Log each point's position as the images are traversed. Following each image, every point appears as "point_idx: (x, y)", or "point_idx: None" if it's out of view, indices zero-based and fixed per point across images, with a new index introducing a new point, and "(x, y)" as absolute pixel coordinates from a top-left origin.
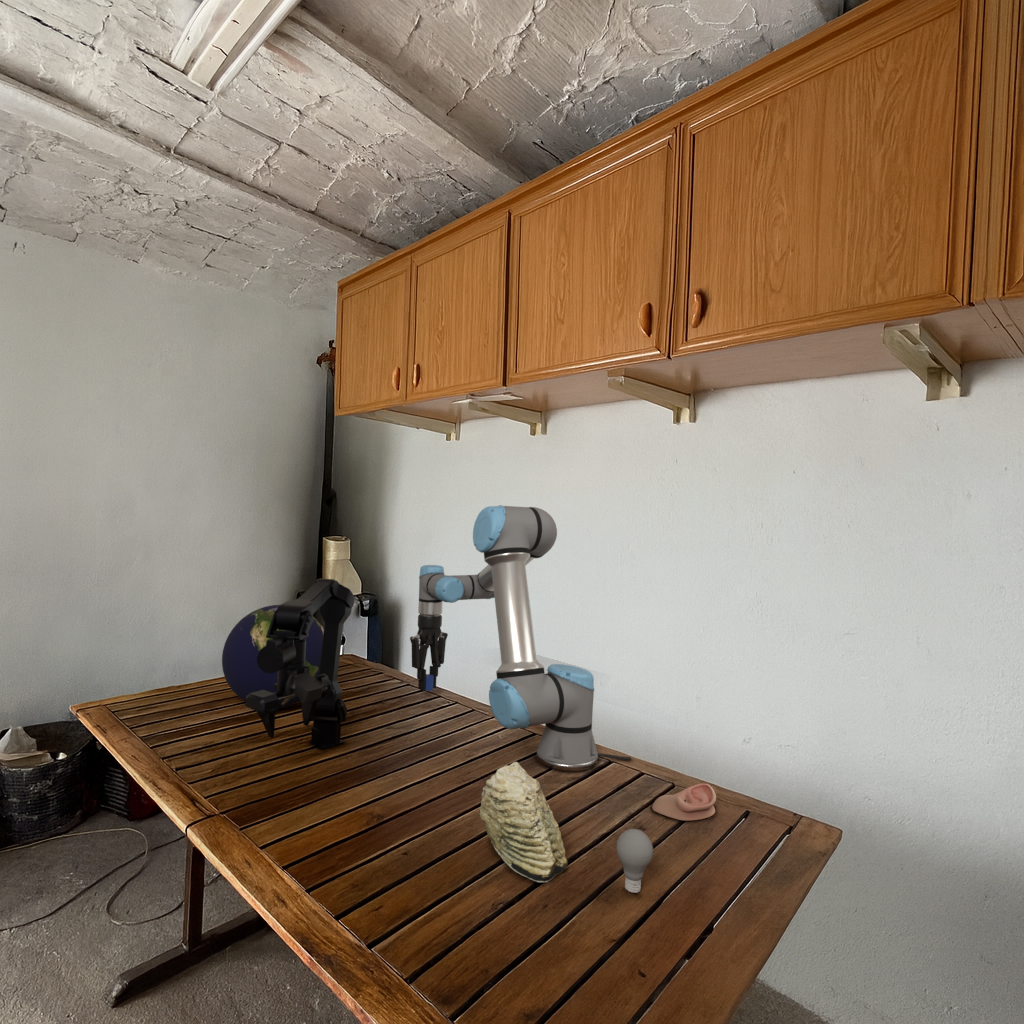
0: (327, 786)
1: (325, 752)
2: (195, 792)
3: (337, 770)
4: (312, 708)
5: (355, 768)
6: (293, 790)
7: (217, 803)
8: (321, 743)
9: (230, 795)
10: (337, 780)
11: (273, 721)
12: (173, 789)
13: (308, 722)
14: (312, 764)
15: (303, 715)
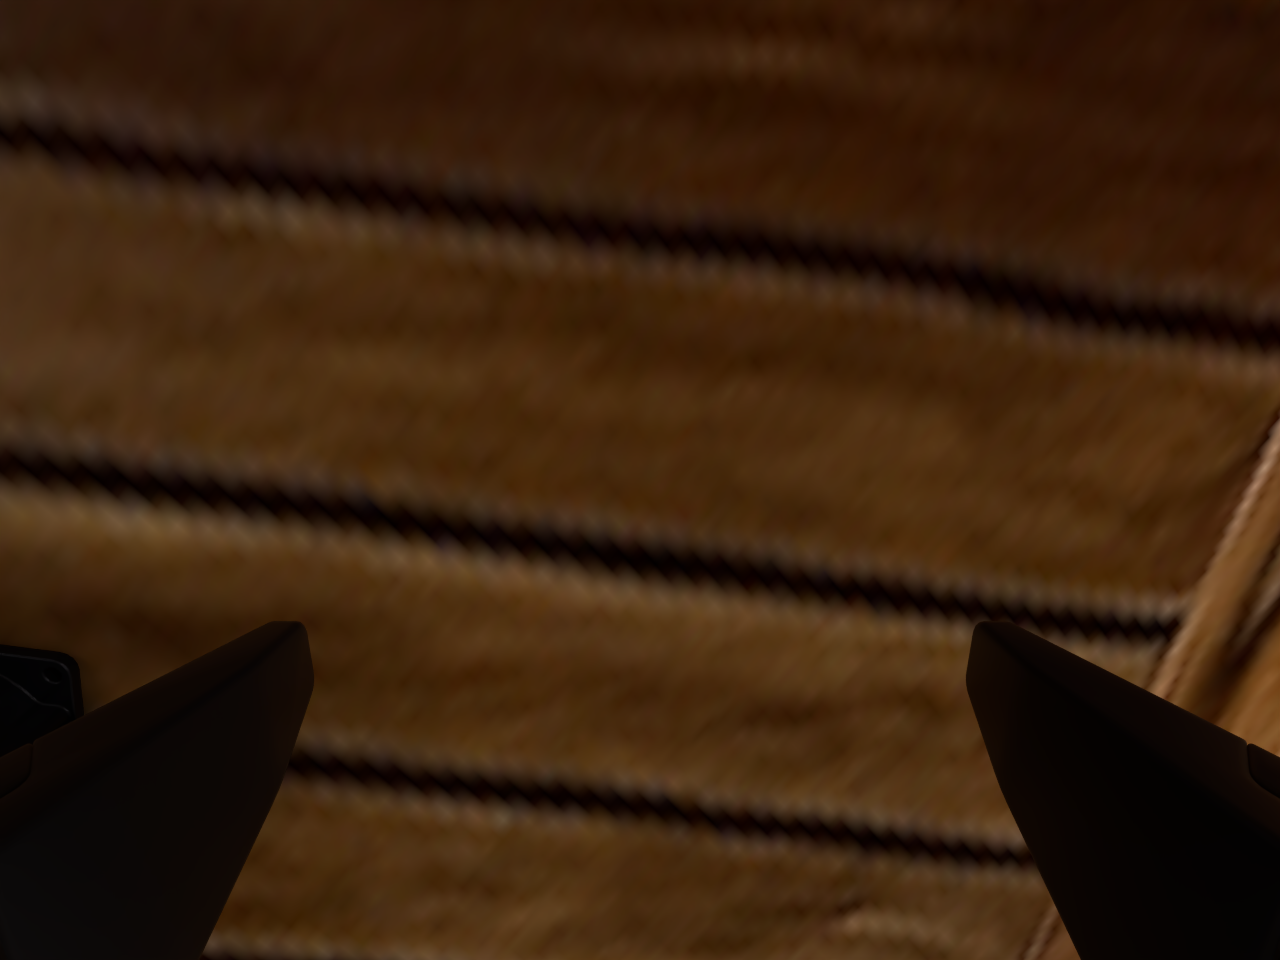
0: (470, 13)
1: (78, 604)
2: None
3: (193, 229)
4: (29, 786)
5: (26, 118)
6: (726, 213)
7: (1206, 496)
8: (36, 716)
9: (1063, 533)
10: (320, 41)
11: (1224, 776)
12: None
13: (254, 641)
14: (296, 502)
15: (248, 817)
